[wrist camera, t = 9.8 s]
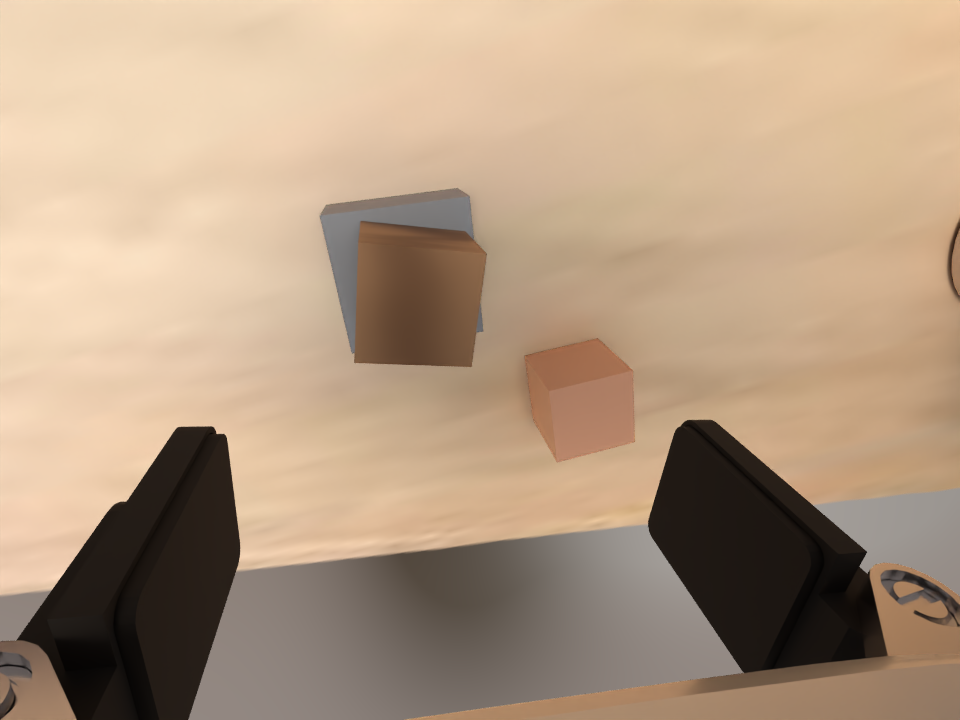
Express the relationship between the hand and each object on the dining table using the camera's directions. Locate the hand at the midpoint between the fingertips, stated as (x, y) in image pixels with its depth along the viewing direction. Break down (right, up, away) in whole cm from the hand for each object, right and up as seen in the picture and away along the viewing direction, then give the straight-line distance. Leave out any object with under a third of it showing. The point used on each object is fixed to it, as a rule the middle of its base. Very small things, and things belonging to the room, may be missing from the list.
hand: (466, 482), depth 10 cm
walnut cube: (-3, +7, +14) cm, 16 cm away
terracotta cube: (+6, +1, +23) cm, 24 cm away
